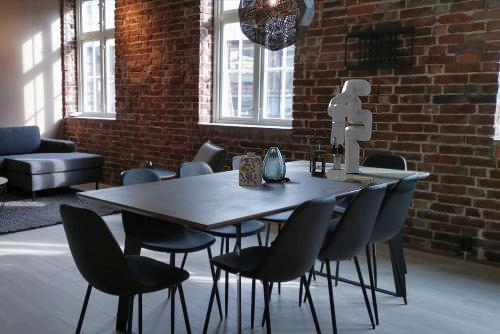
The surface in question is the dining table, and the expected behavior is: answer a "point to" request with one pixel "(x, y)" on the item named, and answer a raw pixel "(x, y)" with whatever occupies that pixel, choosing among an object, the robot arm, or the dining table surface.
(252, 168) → the decorative jar
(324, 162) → the black lantern
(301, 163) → the dining table surface
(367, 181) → the tan flat square block
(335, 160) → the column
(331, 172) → the stand base
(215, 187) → the dining table surface
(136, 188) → the dining table surface
